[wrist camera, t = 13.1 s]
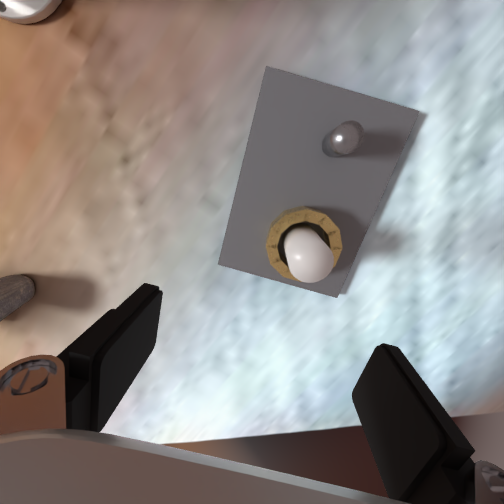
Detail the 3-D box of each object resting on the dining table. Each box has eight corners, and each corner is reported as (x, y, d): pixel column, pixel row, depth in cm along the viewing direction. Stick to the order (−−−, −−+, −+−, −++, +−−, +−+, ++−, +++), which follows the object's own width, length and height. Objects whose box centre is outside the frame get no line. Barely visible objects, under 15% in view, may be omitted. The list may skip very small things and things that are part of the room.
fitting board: (266, 70, 25) (266, 65, 24) (412, 114, 25) (419, 111, 24) (219, 261, 32) (217, 264, 31) (334, 293, 32) (337, 298, 31)
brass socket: (278, 198, 28) (279, 201, 25) (344, 217, 28) (353, 222, 25) (259, 260, 30) (258, 269, 27) (320, 278, 30) (325, 288, 27)
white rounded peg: (287, 219, 28) (294, 235, 21) (320, 227, 28) (340, 246, 21) (279, 251, 29) (283, 277, 22) (310, 258, 29) (325, 286, 22)
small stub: (326, 127, 25) (340, 116, 20) (350, 134, 25) (369, 125, 20) (318, 153, 26) (328, 148, 21) (341, 160, 26) (357, 156, 21)
